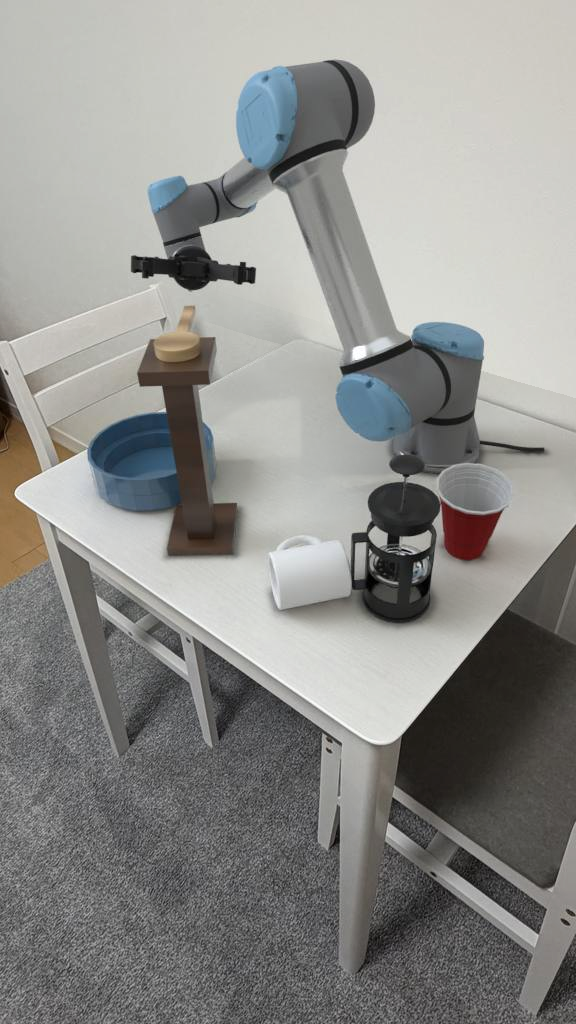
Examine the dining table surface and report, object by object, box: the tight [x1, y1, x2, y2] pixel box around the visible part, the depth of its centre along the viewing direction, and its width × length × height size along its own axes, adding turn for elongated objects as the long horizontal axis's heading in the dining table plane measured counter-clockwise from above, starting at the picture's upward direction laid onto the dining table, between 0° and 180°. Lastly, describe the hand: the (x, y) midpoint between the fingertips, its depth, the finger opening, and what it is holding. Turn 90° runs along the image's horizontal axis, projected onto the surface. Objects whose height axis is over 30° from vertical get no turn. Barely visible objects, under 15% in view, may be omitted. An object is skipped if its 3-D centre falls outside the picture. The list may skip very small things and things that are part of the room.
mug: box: [267, 534, 353, 611], centre depth 96 cm, size 12×10×8 cm
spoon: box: [154, 305, 201, 362], centre depth 94 cm, size 16×6×2 cm, turn 179°
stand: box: [136, 336, 239, 557], centre depth 99 cm, size 11×10×30 cm
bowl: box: [86, 411, 218, 512], centre depth 119 cm, size 21×21×7 cm
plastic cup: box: [435, 463, 516, 561], centre depth 99 cm, size 11×11×12 cm
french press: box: [350, 455, 441, 624], centre depth 88 cm, size 12×9×23 cm
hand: (196, 271), depth 105 cm, fingers open, 13 cm apart
